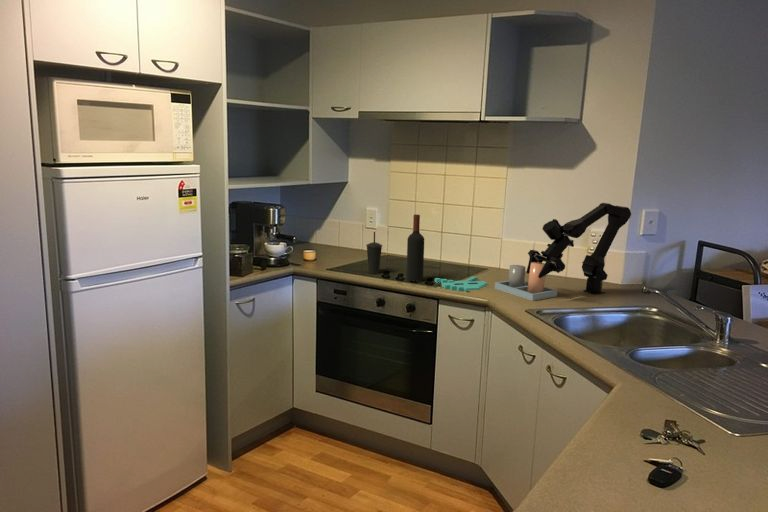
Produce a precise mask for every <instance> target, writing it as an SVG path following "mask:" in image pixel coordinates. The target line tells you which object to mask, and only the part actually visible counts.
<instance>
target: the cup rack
mask: <svg viewBox="0 0 768 512" xmlns="http://www.w3.org/2000/svg"><path fill="white" fill-rule="evenodd" d="M508 284H509V280H504V281H496V282H494V290H498V291H501V292H504V293H508V294H511V295H514V296H517V297H520V298H523V299H525V300H528V301H539V300H544V299H550V298H557V297H558V289H554V288H550V287H547V286H544V292H540V293H534V294H532V293H529V292H527V287H528V280H527V281H526V280H525V283H524V286H523V287H517V288H513V287H510V286H508Z"/></svg>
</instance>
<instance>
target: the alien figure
mask: <svg viewBox="0 0 768 512" xmlns="http://www.w3.org/2000/svg"><path fill="white" fill-rule="evenodd" d="M434 281H435V282H436V283H435V282H434V283H435V284H441V286H442V287H444V288H445V289H444V288H443V289H444V290H450V289H451V290H450V291H457V290H458V291H457V292H464V291H465V292H467V293H470V291H479V290H481V289H483V288H484V287H486V286H488V285H489V283H488V282H486V281H485V280H479V279H478V276H471V277H468V278H466V279H465V280H453V279H447V278H440V277H435V278H434ZM438 282H439V283H438ZM440 282H441V283H440ZM441 286H440V287H441ZM442 287H441V288H442ZM465 292H464V293H465Z"/></svg>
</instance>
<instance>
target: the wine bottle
mask: <svg viewBox="0 0 768 512" xmlns="http://www.w3.org/2000/svg"><path fill="white" fill-rule="evenodd" d="M412 220H413V223H412V224H413V226H412V233H410V234H409V235H408V237H407V239H406V240H407V245H406V246H407V247H406V279H405V280H407V282H408V281H413V280H417V281H419V282H418V283H422V282H424V267H425V266H424V265H425V264H424V263H425V260H424V259H425V237H424V236H423V234H421V232H420V220H421V215H420V214H413V219H412Z"/></svg>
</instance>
